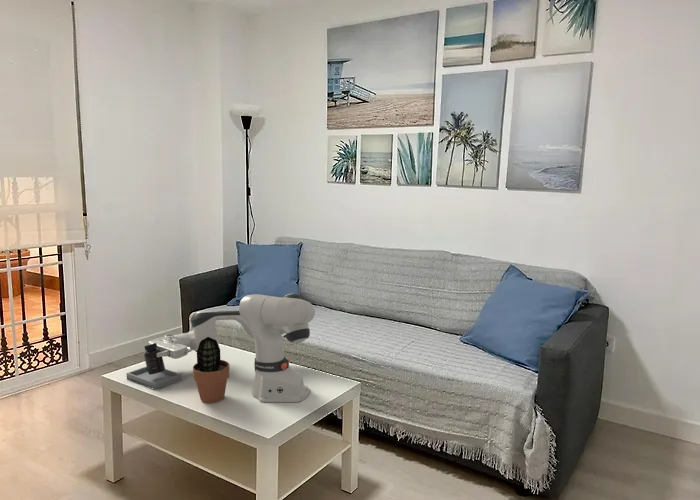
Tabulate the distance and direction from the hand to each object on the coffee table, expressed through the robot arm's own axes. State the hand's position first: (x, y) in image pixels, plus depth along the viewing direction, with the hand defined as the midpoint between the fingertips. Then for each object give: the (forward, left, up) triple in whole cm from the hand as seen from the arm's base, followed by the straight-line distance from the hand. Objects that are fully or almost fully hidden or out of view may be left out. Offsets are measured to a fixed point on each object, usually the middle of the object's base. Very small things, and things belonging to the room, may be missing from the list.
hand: (150, 353), depth 223 cm
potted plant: (-32, +11, -12) cm, 36 cm away
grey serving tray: (0, -1, -11) cm, 12 cm away
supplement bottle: (-3, 0, -8) cm, 9 cm away
